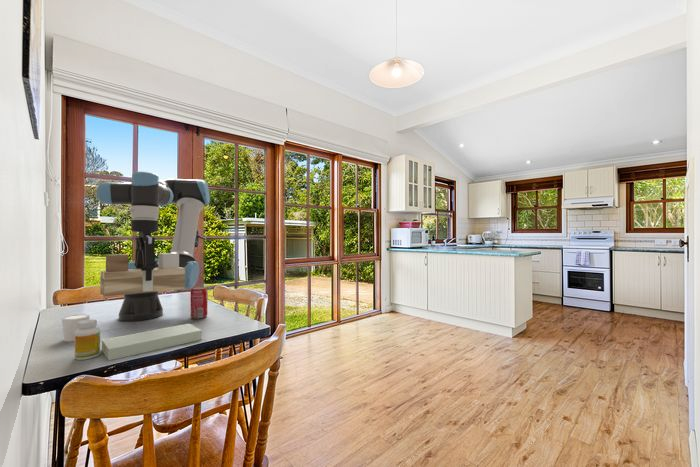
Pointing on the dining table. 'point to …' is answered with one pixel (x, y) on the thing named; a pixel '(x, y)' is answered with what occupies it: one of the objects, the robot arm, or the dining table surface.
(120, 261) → the brown wooden cube
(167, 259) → the white cube
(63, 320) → the white cup
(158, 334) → the block
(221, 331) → the dining table surface
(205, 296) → the beverage can
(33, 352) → the dining table surface
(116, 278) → the wooden block
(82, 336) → the supplement bottle
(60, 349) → the dining table surface
